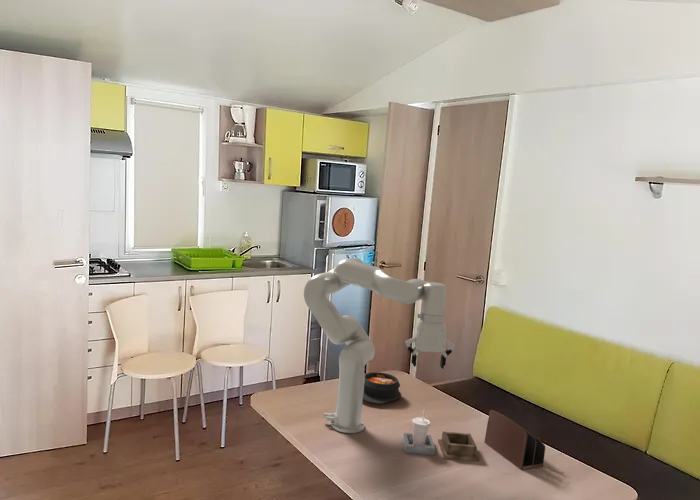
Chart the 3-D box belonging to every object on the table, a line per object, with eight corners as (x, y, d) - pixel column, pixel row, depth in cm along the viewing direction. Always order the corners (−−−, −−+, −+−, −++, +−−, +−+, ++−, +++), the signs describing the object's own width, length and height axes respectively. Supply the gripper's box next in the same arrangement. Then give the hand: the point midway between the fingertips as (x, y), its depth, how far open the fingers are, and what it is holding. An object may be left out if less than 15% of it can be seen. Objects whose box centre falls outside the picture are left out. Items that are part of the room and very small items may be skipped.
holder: (405, 452, 185) (406, 446, 185) (402, 439, 195) (403, 432, 195) (434, 455, 185) (435, 448, 185) (430, 441, 195) (430, 435, 195)
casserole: (368, 383, 248) (370, 365, 247) (407, 392, 242) (409, 374, 241) (348, 401, 225) (350, 382, 224) (391, 411, 219) (393, 392, 218)
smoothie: (426, 453, 186) (431, 414, 185) (408, 449, 188) (412, 411, 186) (427, 444, 193) (432, 407, 191) (410, 441, 194) (414, 404, 192)
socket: (444, 458, 184) (445, 445, 183) (437, 441, 196) (439, 429, 195) (478, 461, 184) (480, 448, 184) (470, 444, 196) (472, 432, 195)
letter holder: (520, 470, 181) (526, 430, 179) (483, 443, 199) (488, 406, 197) (543, 466, 185) (549, 427, 183) (505, 440, 203) (510, 404, 201)
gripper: (408, 319, 182) (404, 368, 184) (459, 322, 182) (454, 371, 184) (406, 314, 189) (402, 361, 191) (455, 317, 190) (450, 364, 192)
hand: (427, 366), depth 188 cm, fingers open, 9 cm apart
